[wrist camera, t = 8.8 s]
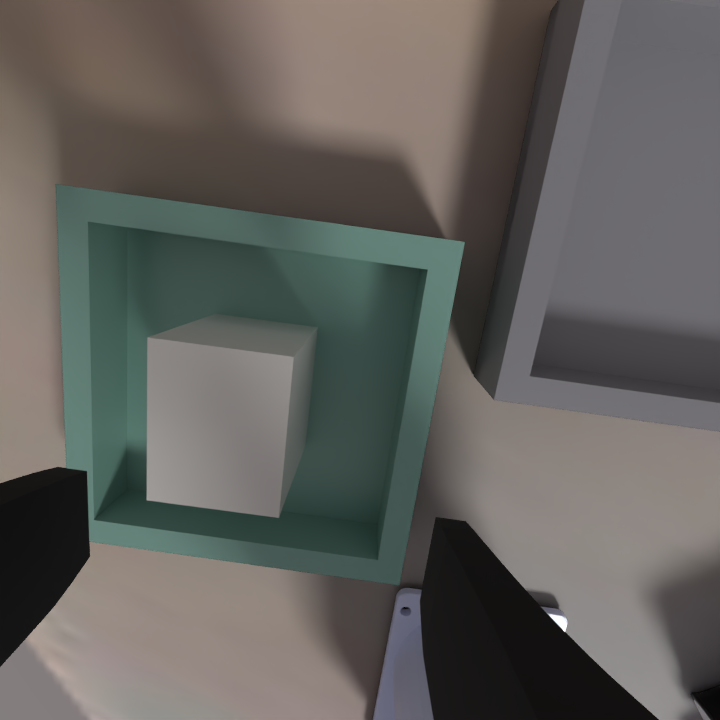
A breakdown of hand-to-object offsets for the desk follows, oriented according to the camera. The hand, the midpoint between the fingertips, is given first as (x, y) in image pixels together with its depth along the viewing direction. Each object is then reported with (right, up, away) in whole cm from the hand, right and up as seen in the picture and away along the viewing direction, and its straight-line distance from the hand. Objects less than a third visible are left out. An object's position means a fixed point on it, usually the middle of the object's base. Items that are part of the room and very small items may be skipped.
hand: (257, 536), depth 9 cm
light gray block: (-2, +3, +8) cm, 9 cm away
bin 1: (-2, +3, +9) cm, 10 cm away
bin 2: (+14, +8, +7) cm, 18 cm away
